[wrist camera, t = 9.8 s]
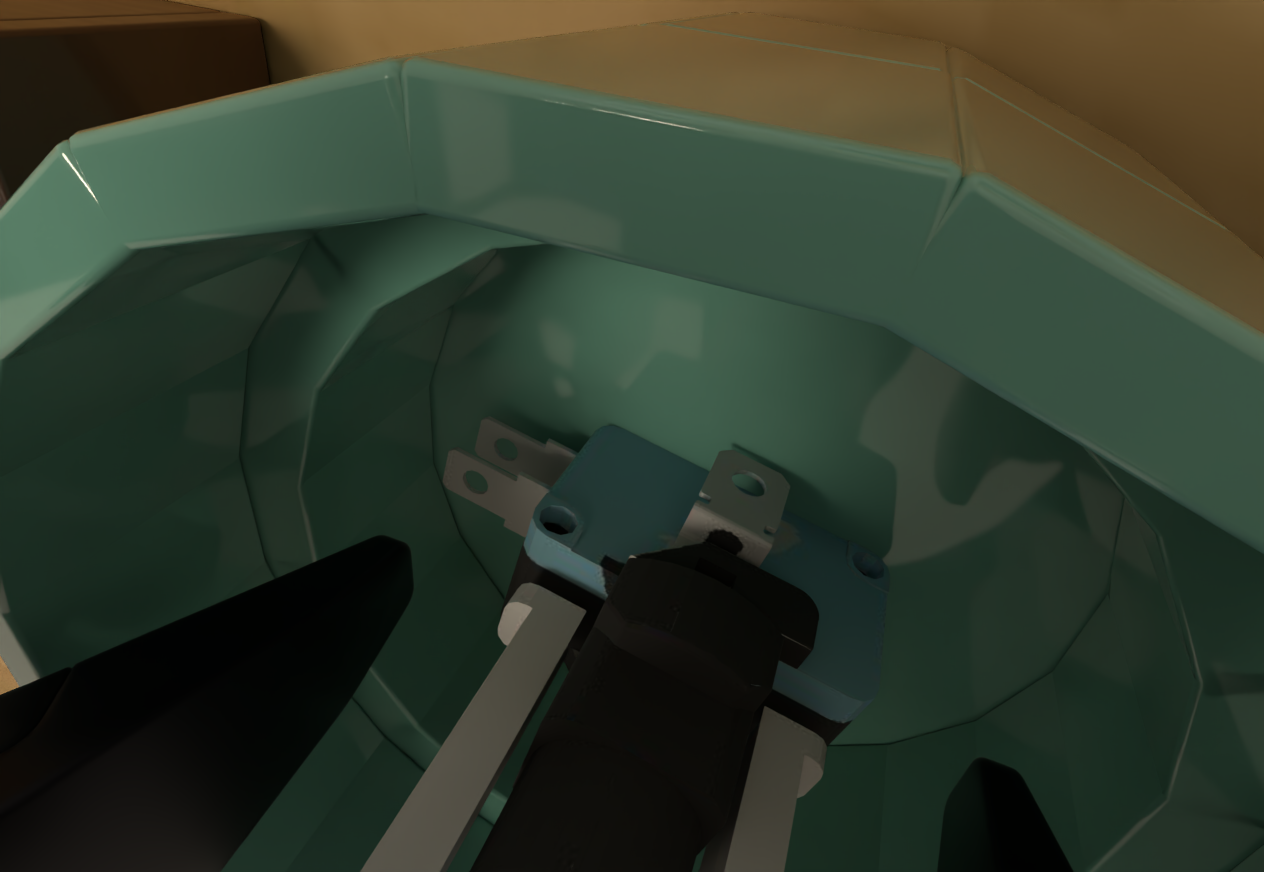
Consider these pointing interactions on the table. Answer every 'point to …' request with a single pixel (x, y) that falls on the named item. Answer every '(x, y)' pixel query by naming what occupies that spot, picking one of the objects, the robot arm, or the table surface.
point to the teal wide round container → (668, 402)
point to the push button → (649, 665)
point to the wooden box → (110, 68)
